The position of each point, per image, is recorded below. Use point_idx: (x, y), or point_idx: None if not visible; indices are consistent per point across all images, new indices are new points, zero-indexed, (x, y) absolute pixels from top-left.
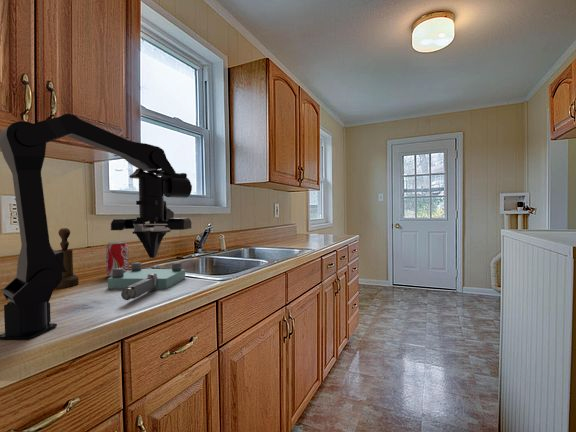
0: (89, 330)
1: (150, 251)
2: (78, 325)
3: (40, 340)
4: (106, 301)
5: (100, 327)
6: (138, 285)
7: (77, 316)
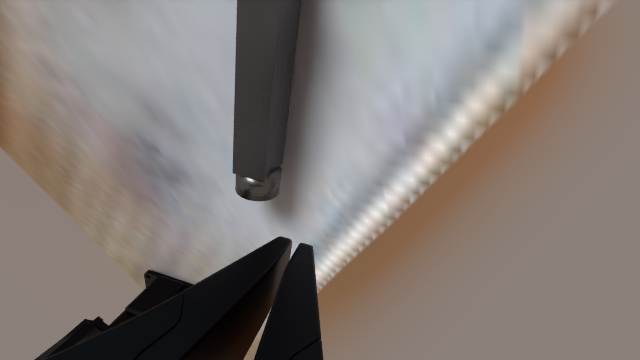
0: None
1: (265, 312)
2: None
3: None
4: (186, 118)
5: None
6: (268, 149)
7: (199, 239)
